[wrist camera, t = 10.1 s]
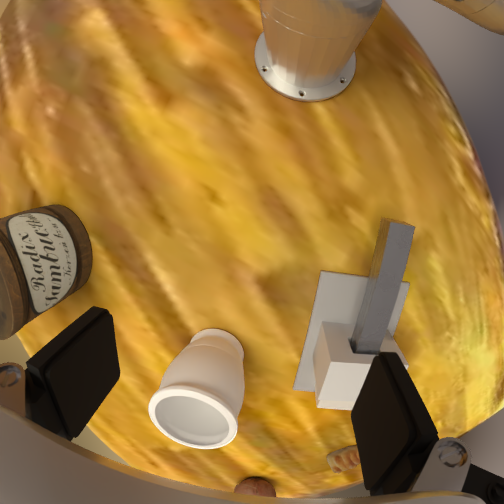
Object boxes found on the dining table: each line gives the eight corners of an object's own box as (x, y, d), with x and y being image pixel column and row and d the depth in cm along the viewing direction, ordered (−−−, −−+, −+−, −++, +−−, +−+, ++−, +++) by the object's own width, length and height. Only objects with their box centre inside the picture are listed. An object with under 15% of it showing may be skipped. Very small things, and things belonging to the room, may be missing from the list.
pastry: (365, 436, 46) (369, 450, 42) (376, 448, 47) (379, 462, 43) (323, 453, 48) (325, 467, 44) (337, 465, 49) (338, 478, 45)
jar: (245, 383, 44) (231, 456, 29) (182, 370, 44) (150, 436, 30) (256, 328, 41) (243, 402, 26) (185, 314, 41) (144, 378, 27)
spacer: (325, 387, 36) (316, 407, 37) (364, 391, 36) (354, 410, 37) (321, 366, 41) (314, 385, 42) (358, 370, 40) (349, 389, 42)
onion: (267, 477, 56) (272, 511, 48) (229, 480, 54) (233, 515, 46) (277, 472, 50) (284, 511, 42) (234, 476, 48) (239, 516, 40)
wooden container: (106, 282, 41) (8, 356, 20) (49, 296, 44) (-34, 354, 23) (76, 190, 38) (-43, 217, 17) (23, 219, 40) (-72, 252, 19)
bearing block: (320, 270, 37) (333, 303, 28) (408, 282, 37) (440, 313, 27) (292, 387, 43) (293, 433, 33) (368, 391, 42) (381, 434, 33)
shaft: (381, 217, 31) (390, 221, 28) (404, 221, 30) (414, 226, 27) (341, 366, 36) (345, 379, 33) (362, 367, 36) (367, 380, 33)
